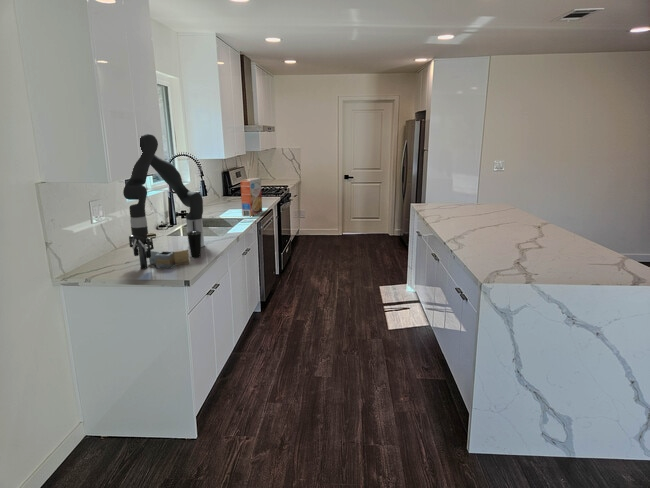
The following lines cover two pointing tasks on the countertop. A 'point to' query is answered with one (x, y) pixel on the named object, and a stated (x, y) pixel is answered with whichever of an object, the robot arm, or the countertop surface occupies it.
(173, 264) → the hinge
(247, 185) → the pasta box
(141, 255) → the hinge pin
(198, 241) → the drinking cup
